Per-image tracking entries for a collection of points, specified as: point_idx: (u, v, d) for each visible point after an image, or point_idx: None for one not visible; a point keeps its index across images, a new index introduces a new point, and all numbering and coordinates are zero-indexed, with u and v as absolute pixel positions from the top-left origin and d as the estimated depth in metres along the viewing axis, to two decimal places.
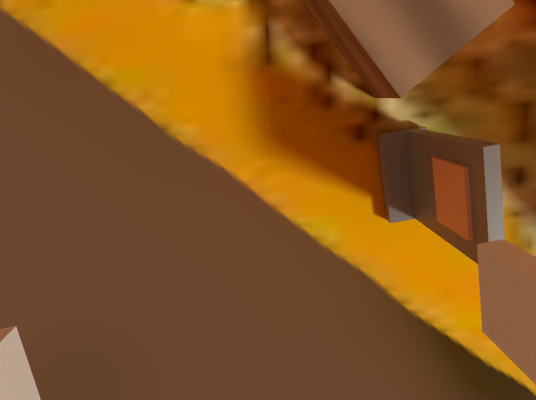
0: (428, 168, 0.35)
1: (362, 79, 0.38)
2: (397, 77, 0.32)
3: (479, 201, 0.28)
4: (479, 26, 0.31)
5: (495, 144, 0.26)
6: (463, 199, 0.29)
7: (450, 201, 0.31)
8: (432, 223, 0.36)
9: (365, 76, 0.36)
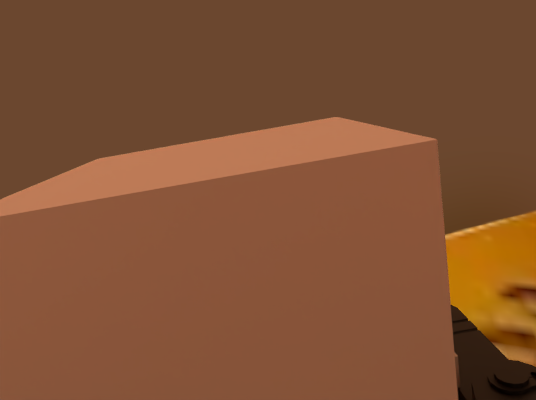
0: None
1: None
2: None
3: None
4: None
5: None
6: None
7: None
8: None
9: None
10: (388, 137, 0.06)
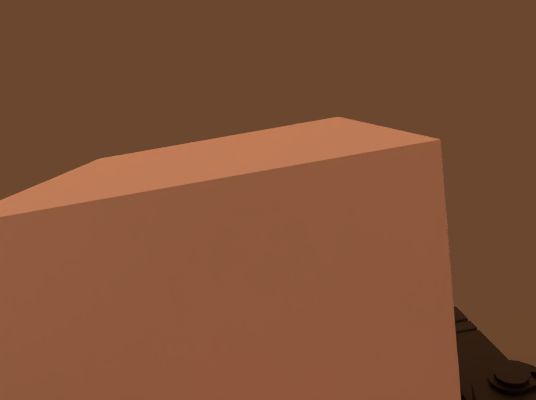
0: None
1: None
2: None
3: None
4: None
5: None
6: None
7: None
8: None
9: None
10: (391, 137, 0.06)
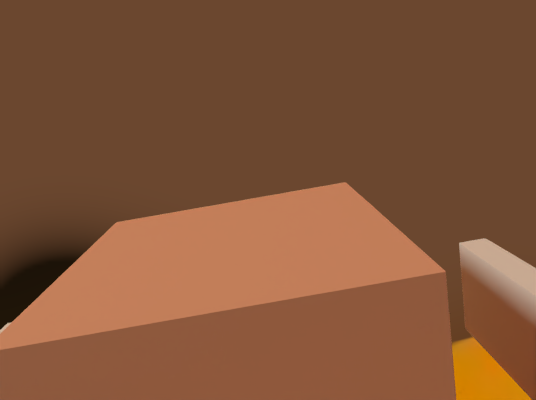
0: None
1: None
2: None
3: None
4: None
5: None
6: None
7: None
8: None
9: None
10: (399, 253, 0.06)
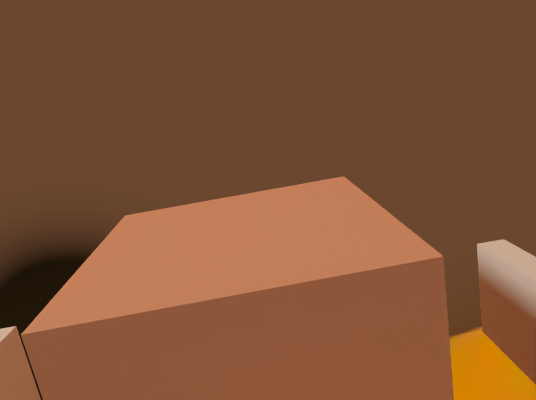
0: None
1: None
2: None
3: None
4: None
5: None
6: None
7: None
8: None
9: None
10: (400, 241, 0.07)
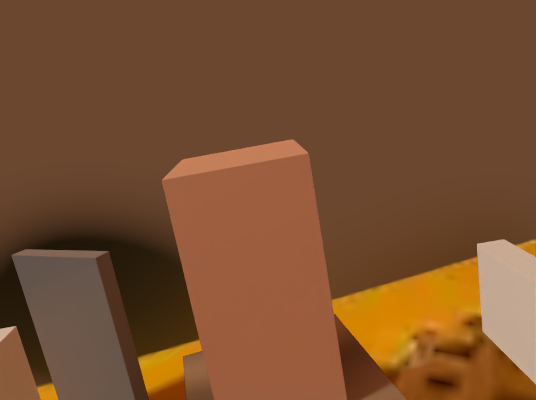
0: None
1: None
2: None
3: None
4: None
5: (98, 259, 0.26)
6: None
7: None
8: None
9: None
10: (298, 152, 0.19)
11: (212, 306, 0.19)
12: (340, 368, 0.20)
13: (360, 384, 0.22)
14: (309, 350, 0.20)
